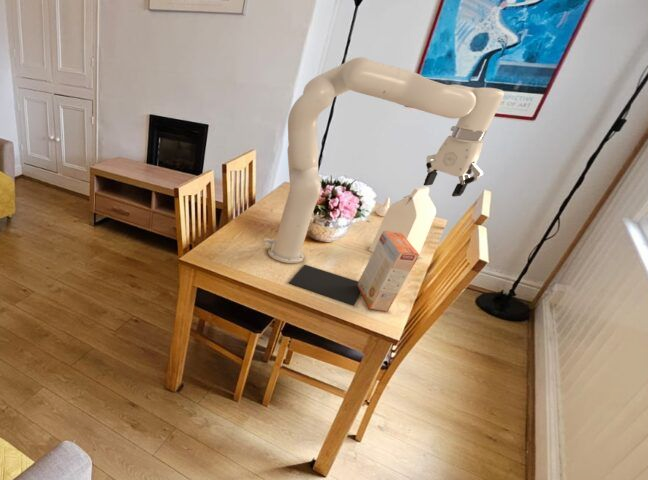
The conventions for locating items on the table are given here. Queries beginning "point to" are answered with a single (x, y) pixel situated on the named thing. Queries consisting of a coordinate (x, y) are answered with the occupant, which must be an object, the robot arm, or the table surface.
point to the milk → (409, 218)
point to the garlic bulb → (383, 208)
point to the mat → (327, 284)
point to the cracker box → (387, 270)
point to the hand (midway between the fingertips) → (441, 190)
